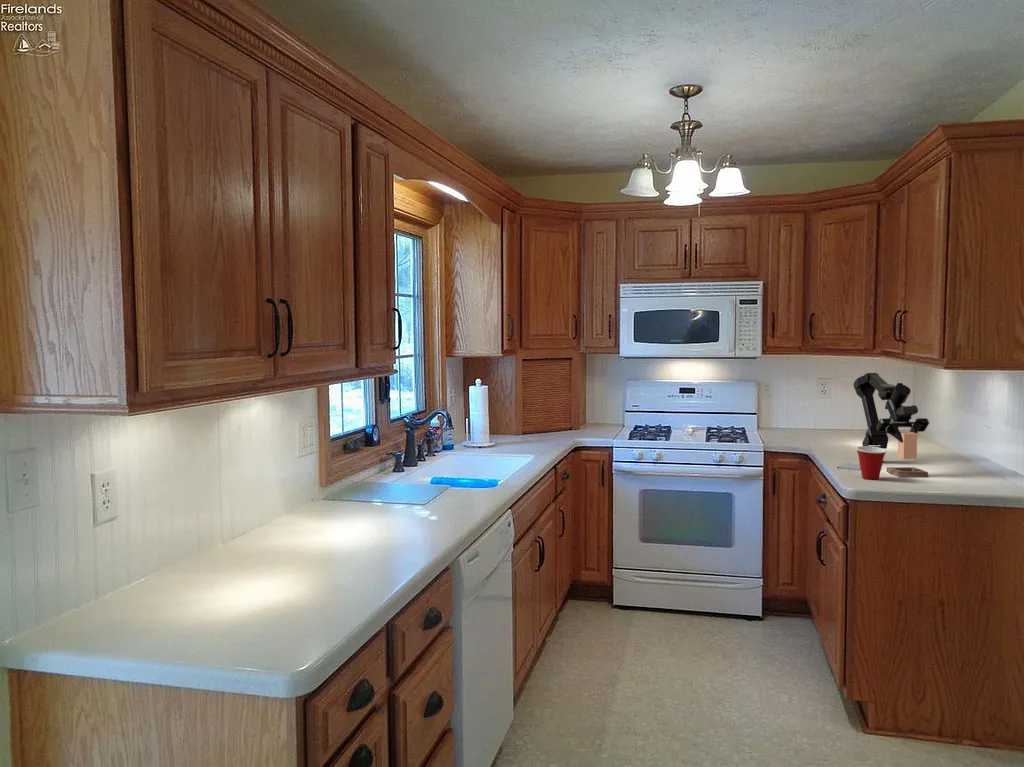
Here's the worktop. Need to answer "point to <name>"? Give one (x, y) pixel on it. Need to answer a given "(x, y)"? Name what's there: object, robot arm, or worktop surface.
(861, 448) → the plastic cup
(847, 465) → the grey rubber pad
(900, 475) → the walnut well board
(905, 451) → the terracotta block
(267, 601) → the worktop surface
